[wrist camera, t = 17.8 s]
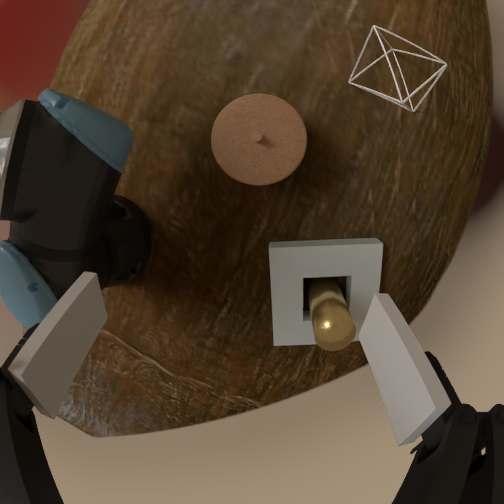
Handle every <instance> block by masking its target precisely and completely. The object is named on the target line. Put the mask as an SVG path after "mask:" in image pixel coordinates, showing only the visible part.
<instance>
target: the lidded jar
mask: <svg viewBox="0 0 504 504" xmlns="http://www.w3.org/2000/svg"><path fill="white" fill-rule="evenodd" d="M211 146H212V151H213V154H214V157H215V159H216V161H217V163H218V164H219V166H220V167H221V168H222V169H223V170H224V171H225V172H226V173H227V174H228V175H229V176H230V177H232V178H233V179H235V180H237V181H239V182H242V183H245V184H249V185H260V186H262V185H269V184H273V183H276V182H279V181H281V180H283V179H285V178H286V177H288V176H289V175H290V174H291V173H292V172H294V171H295V170H296V168H297V167H298V166H299V164H300V163H301V161H302V159H303V157H304V154H305V152H306V147H307V132H306V128H305V125H304V122H303V120H302V118H301V116H300V115H299V113H298V112H297V111H296V109H295V108H294V107H292V106H291V105H290V104H289V103H288V102H286V101H285V100H283V99H281V98H279V97H276V96H273V95H269V94H250V95H246V96H242V97H240V98H238V99H236V100H234V101H232V102H231V103H229V104H228V105H227V106H226V107H225V108H224V109H223V110H222V111H221V112H220V114H219V115H218V117H217V118H216V120H215V122H214V125H213V128H212V134H211Z"/></svg>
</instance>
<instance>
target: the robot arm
mask: <svg viewBox="0 0 504 504" xmlns="http://www.w3.org/2000/svg"><path fill="white" fill-rule="evenodd" d="M38 100H39V101H32V100H26V99H22V100H20V101H19V102H17V103H16V104H15V105H13V106H12V107H11V108H9V109H8V110H6V111H3V112H0V220H10V221H11V223H10V233H9V238H8V240H7V241H6V240H2V241H0V295H1V297H2V299H3V301H4V303H5V304H6V306H7V307H8V309H9V310H10V312H11V313H12V314H13V316H14V317H15V318H16V319H17V320H18V321H19V322H20V323H21V324H22V325H23V326H25V327H26V328H27V329H28V331H27V332H26V333H25V335H24V336H23V339H21V340H20V341H19V343H18V345H16V347H15V348H14V349H13V351H12V353H11V354H10V355H9V357H8V358H7V360H6V361H5V362H4V364H3V365H2V367H1V368H0V504H64V503H63V500H62V498H61V496H60V494H59V491H58V489H57V487H56V484H55V481H54V479H53V476H52V474H51V471H50V468H49V465H48V462H47V460H46V456H45V453H44V450H43V446H42V443H41V439H40V436H39V432H38V428H37V424H36V420H35V415H34V413H33V411H32V408H33V406H35V407H36V408H37V410H38V411H39V412H40V413H41V414H43V415H45V416H48V417H50V418H52V419H54V418H55V416H56V414H57V412H58V410H59V408H60V406H61V403H62V401H63V399H64V397H65V395H66V393H67V391H68V389H69V387H70V385H71V383H72V381H73V379H74V377H75V375H76V374H77V372H78V370H79V368H80V366H81V364H82V362H83V361H84V359H85V357H86V355H87V353H88V351H89V350H90V348H91V346H92V344H93V343H94V341H95V339H96V337H97V336H98V334H99V332H100V331H101V329H102V327H103V325H104V324H105V322H106V321H107V319H108V316H107V313H106V309H105V305H104V301H103V298H102V294H101V290H102V289H103V288H106V287H112V286H117V285H122V284H125V283H127V282H129V281H131V280H133V279H134V278H135V277H136V276H137V275H139V274H140V273H141V272H142V271H143V269H144V268H145V266H146V265H147V262H148V260H149V256H150V251H151V239H150V233H149V229H148V226H147V223H146V221H145V219H144V217H143V215H142V214H141V212H140V211H139V210H138V208H137V207H136V206H135V205H134V204H133V203H131V202H130V201H129V200H127V199H126V198H124V197H121V196H118V195H114V193H115V190H116V187H117V184H118V182H119V179H120V176H121V174H122V173H124V164H125V162H126V159H127V156H128V153H129V150H130V148H131V145H132V141H133V135H132V132H131V130H130V128H129V127H128V126H127V125H126V124H125V123H123V122H122V121H120V120H118V119H116V118H115V117H113V116H111V115H109V114H107V113H105V112H103V111H101V110H99V109H97V108H95V107H93V106H91V105H89V104H87V103H84V102H82V101H80V100H78V99H75V98H73V97H71V96H68V95H66V94H63V93H60V92H57V91H55V90H53V89H46V90H44V91H43V93H42V94H40V95H39V98H38ZM358 337H359V340H360V342H361V345H362V347H363V350H364V352H365V355H366V357H367V360H368V362H369V365H370V368H371V370H372V373H373V375H374V378H375V381H376V383H377V386H378V389H379V392H380V394H381V397H382V400H383V403H384V405H385V408H386V411H387V414H388V417H389V420H390V423H391V426H392V429H393V432H394V435H395V439H396V442H397V445H398V446H401V445H404V444H408V443H411V442H414V441H415V440H416V439H417V438H418V437H419V436H420V435H421V436H422V438H423V441H421V442H420V443H419V444H418V445H417V446H416V447H415V448H413V449H412V451H411V452H410V453H411V454H412V453H414V452H415V451H416V450H417V452H416V454H415V457H414V460H413V462H412V464H411V466H410V468H409V471H408V473H407V475H406V477H405V479H404V481H403V483H402V485H401V487H400V489H399V491H398V493H397V495H396V497H395V499H394V501H393V502H392V504H504V405H502V404H496V405H495V406H494V407H493V408H492V409H491V410H490V411H489V412H477V411H476V410H475V409H474V408H473V407H472V406H470V405H469V404H462V403H461V402H460V400H459V398H458V396H457V394H456V392H455V390H454V388H453V387H452V385H451V383H450V381H449V379H448V378H447V377H446V374H445V372H444V370H442V367H441V365H440V363H439V361H438V360H437V358H436V357H435V356H433V355H432V354H431V353H430V352H429V351H427V352H424V351H423V349H422V347H421V346H420V344H419V342H418V341H417V339H416V337H415V336H414V334H413V332H412V331H411V329H410V327H409V326H408V324H407V322H406V321H405V319H404V318H403V316H402V314H401V313H400V311H399V310H398V308H397V307H396V305H395V304H394V302H393V300H392V299H391V297H390V296H389V294H383V293H375V294H374V297H373V299H372V302H371V305H370V308H369V310H368V313H367V315H366V318H365V321H364V323H363V326H362V328H361V331H360V333H359V335H358ZM484 448H485V449H486V450H485V454H484V455H482V453H481V450H482V449H484Z"/></svg>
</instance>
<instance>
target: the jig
mask: <svg viewBox="0 0 504 504" xmlns="http://www.w3.org/2000/svg"><path fill="white" fill-rule="evenodd" d="M382 254H383V243H382V242H381V241H380V240H378V239H377V238H359V239H332V240H307V241H284V242H270V243H269V261H270V278H271V297H272V316H273V337H274V346H282V345H308V344H316V342H315V339H314V332H313V325H312V319H311V313H310V311H303V278H313V277H334V276H347V282H346V298H345V302H346V304H347V307H348V309H349V311H350V314H351V316H352V319H353V321H354V324H355V327H356V335H355V338H354V340H353V341H360V340H359V337H358V335H359V333H360V331H361V328H362V326H363V323H364V321H365V318H366V315H367V313H368V310H369V308H370V305H371V302H372V299H373V297H374V294H375V293H379V287H380V278H381V267H382Z"/></svg>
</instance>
